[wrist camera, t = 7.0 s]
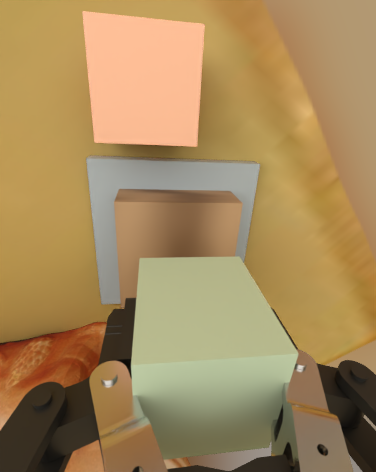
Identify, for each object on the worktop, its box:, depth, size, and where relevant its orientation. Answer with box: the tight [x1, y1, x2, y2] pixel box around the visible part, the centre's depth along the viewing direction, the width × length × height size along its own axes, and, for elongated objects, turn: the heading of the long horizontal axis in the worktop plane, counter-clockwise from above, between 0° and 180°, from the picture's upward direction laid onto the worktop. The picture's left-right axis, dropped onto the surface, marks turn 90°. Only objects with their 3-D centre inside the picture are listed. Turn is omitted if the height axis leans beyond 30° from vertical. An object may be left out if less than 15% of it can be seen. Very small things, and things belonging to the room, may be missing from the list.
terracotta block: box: [82, 11, 205, 147], centre depth 15 cm, size 5×5×6 cm
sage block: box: [131, 256, 299, 460], centre depth 11 cm, size 5×5×6 cm
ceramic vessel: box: [0, 322, 190, 472], centre depth 20 cm, size 14×26×15 cm, turn 98°
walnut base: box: [114, 189, 243, 308], centre depth 19 cm, size 8×8×3 cm
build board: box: [86, 156, 260, 304], centre depth 21 cm, size 12×12×1 cm
